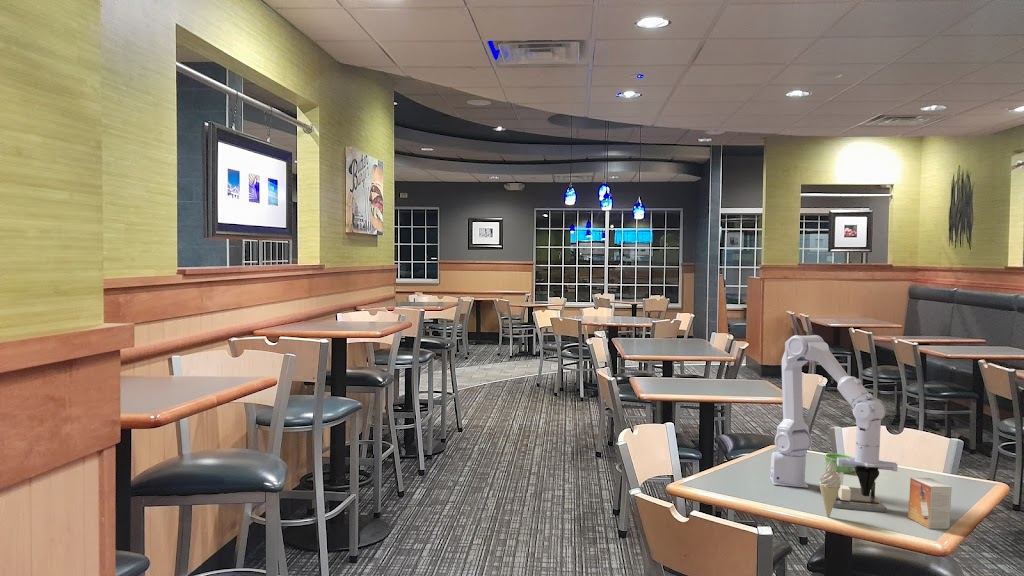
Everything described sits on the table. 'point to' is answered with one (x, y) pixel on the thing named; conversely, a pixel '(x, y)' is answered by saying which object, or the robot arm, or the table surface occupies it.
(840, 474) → the door
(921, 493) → the small box
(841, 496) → the fader knob
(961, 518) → the table surface
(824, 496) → the ice cream cone
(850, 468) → the ramekin
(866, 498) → the console plate
